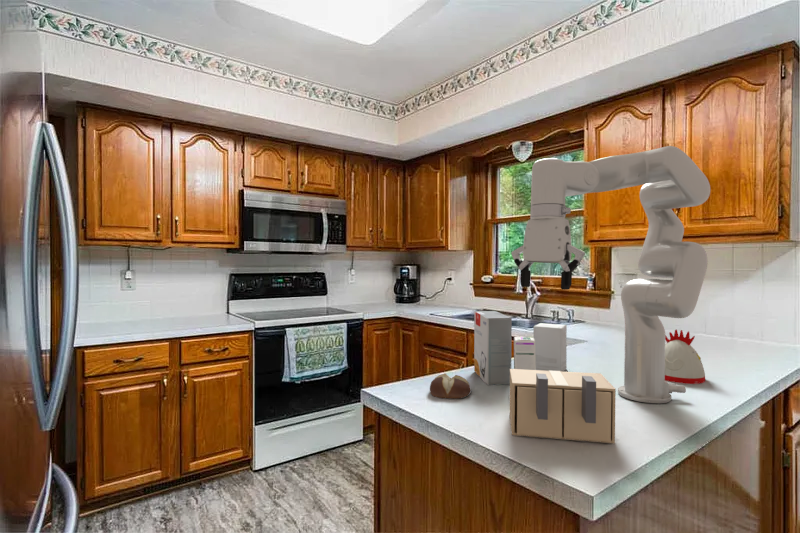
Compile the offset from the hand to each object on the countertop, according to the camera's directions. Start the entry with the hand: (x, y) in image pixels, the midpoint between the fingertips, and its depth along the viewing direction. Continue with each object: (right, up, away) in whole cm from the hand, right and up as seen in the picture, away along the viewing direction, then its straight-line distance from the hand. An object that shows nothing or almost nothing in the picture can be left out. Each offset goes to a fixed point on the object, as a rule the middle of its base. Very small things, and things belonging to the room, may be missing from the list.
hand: (544, 288), depth 101 cm
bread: (-19, -30, +19) cm, 41 cm away
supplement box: (+16, -30, +44) cm, 56 cm away
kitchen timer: (+53, -30, +36) cm, 71 cm away
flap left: (-5, -30, -13) cm, 33 cm away
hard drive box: (-5, -30, +35) cm, 46 cm away
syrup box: (+2, -30, +23) cm, 38 cm away
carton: (+1, -30, -6) cm, 31 cm away
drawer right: (+4, -30, -15) cm, 34 cm away
